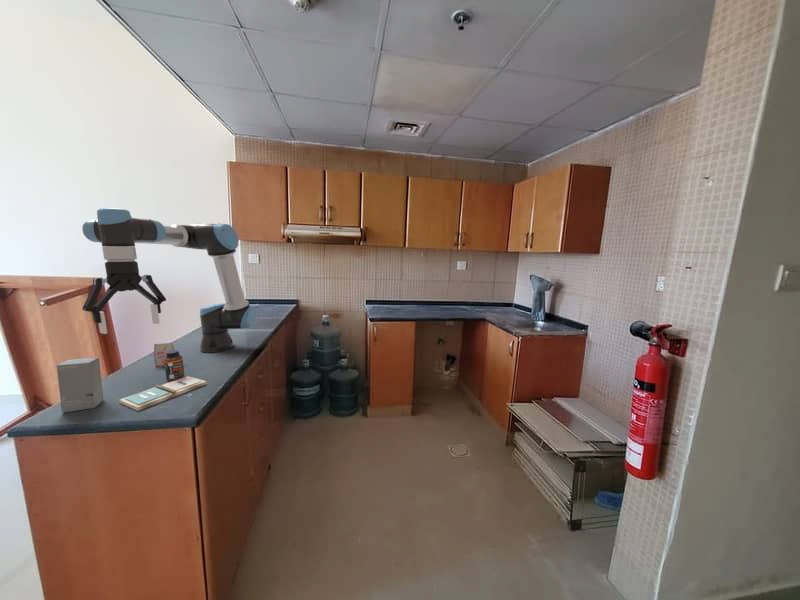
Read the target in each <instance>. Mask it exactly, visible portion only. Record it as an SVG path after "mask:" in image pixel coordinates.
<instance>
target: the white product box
mask: <svg viewBox="0 0 800 600" xmlns="http://www.w3.org/2000/svg"><path fill="white" fill-rule="evenodd" d="M153 346H154V349H153V357H154V364H155V365H154V366H155V368H158V367H165V364H164V359H165V358H166V357H167V354H166V353H167V352H168V351H172V350H176V348H175V347H174V344H173V342H163V343H162V342H161V343H154V345H153Z"/></svg>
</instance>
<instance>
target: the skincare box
mask: <svg viewBox="0 0 800 600" xmlns="http://www.w3.org/2000/svg"><path fill="white" fill-rule="evenodd" d="M56 371H57V372H56V373H57V382H58V390H59V398H60V399H59V400H60V408H61V412H62V414H65V413H64V412H66V413H71V412H77V411H83V410H89V409H96V407H97V406H99V405H100V404H102V402H103V401H104V391H103V383H102V382H103V381H102V375H101V374H102V373H101V365H100V357H89V358H88V357H82V358H75V359H67V360H65V361H62V362H60V363H58V364H57V365H56ZM62 401H63V402H62Z"/></svg>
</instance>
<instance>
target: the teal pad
mask: <svg viewBox="0 0 800 600" xmlns="http://www.w3.org/2000/svg"><path fill="white" fill-rule="evenodd" d="M153 388H154V387H153ZM150 389H151V388H150ZM147 390H148V391H146V390H144V391H145V392H143V391H141V392H142V393H140V392H138V393H139V394H137V393H135V394H136V395H134V394H133V395H134V396H131V395H130V396H131V397H128V396H127V397H128V398H125V397H124V398H125V400H128V401H130V402H133V403H135V404H137V405H140V404H143V403H146V402H148V401H151V400H154V399H156V398H159V397H162V396H164V395H167V394H169V392H166V391H163V390H160V389H157V388H154V389H151V390H149V389H147Z"/></svg>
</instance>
